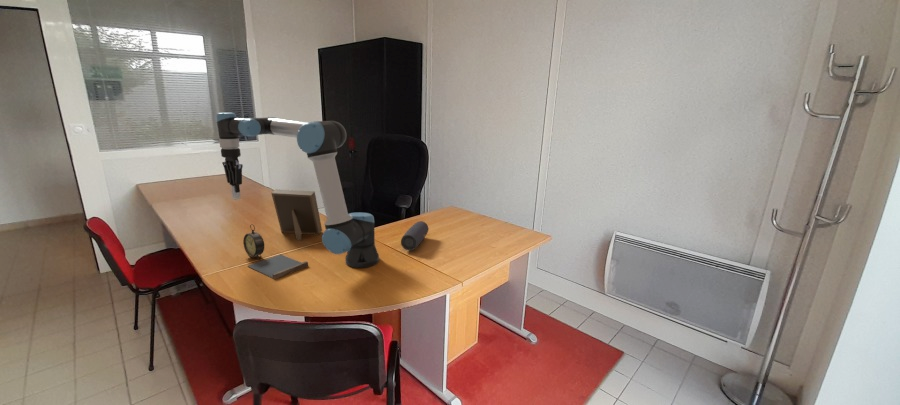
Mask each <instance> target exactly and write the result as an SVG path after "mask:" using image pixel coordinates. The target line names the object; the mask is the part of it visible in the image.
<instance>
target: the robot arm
mask: <svg viewBox="0 0 900 405" xmlns="http://www.w3.org/2000/svg"><path fill="white" fill-rule="evenodd" d="M216 125H217V132H218V140H219V147H220V154H221V155H220V156H221V157H222V158H225V159H224V161H222V164H221V165H222V166H223V169H224V173H225V178H226V182H227V183H228V184H229V185H230V189H231V198H232V200H240V199H242V198H241V190H240V185H242V184H243V167H244V166H243V165H244V164H242V163H241V164H240V161H239V158H240V157H241V149H240V139H239V136H243V137H244V136H245V137H249V138H250V137H256V136H261V135H262V136H263V135H273V136H274V135H275V136H282V137H289V138H296V142H297V146H298V148H299V149H300V150H301V151H302V152H304V153H305V154H306V156H307V159H308V160H310V161H311V162H312V163H313V167H314V171H315V175H316V176H315V177H316V180H317V183H318V184H317V185H318V188H319V192H320V196H321V200H322V204H323V207H324V208H323V209H324V212H325V216H326V220H325V221H324V224H323V225H324V227H325V230H324V231H323V233H322V235H321V241H322V242H321V243H322V244H323V246H324V248H325V249H326V250H327V251H329V252H330V253H331V254H334V255H343V254H344V253H346V256H345V265H347V267H348V266H349V267H351V268H355V269H356V268H357V269H364V268H370V267H373V266H375V265H377V264H378V263H379V262H380V255H379V252H378V250H377V248H376V245H375V244H376V242H375V240H376V239H375V234H376V233H375V217H374V215H373V214H371V213H369V212H350V213H349V212H348V208H347V204H346V200H345V195H344V192H343V186H342V183H341V179H340V178H341V177H340V175H339V174H340V173H339V171H338V166H337V161H336V156H337V154H338V149H339V148H340V147H342V146H343V145H344V143H345V142H346V141H347V136H348V135H347V134H348V133H347V131H346V129H345V127H344V125H342V124H341V123H340V122H338V121H335V120H320V121H319V120H317V121H314V120H313V121H304V120H303V121H301V120H295V119H294V120H292V119H284V118H279V117H275V116H274V117H273V116H268V117H248V118H247V117H237V114H236V113H235V112H217V113H216Z"/></svg>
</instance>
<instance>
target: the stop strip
mask: <svg viewBox="0 0 900 405" xmlns="http://www.w3.org/2000/svg"><path fill="white" fill-rule="evenodd" d="M307 267H309V262H308V261H306V260H305V261H303V262H301V263H300V264H297V265H294V266H292V267H289V268H287V269H284V270H281V271H279V272H276V273H274V274H272V275H273V278H272V279H273V280H277V279H279V278H282V277H284V276H287V275H290V274H291V273H295V272H296V271H300V270H302V269H304V268H307Z"/></svg>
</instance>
